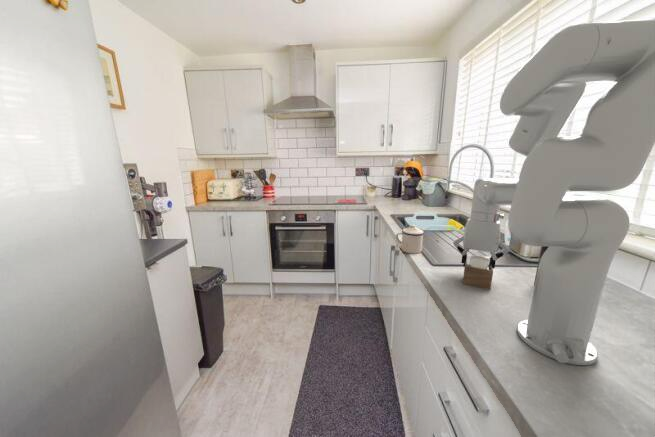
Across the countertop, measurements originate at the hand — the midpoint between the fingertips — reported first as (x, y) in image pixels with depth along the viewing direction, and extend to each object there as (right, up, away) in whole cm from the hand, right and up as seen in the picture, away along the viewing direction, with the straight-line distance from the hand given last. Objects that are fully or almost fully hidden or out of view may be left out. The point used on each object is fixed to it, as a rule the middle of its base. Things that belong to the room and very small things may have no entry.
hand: (477, 267), depth 82 cm
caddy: (-3, -4, -4) cm, 7 cm away
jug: (-2, -4, -2) cm, 5 cm away
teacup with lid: (-15, +2, +27) cm, 30 cm away
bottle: (+17, -5, -8) cm, 19 cm away
